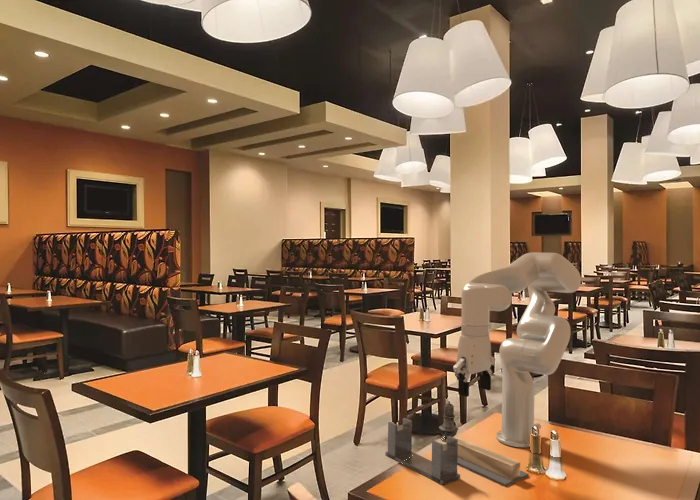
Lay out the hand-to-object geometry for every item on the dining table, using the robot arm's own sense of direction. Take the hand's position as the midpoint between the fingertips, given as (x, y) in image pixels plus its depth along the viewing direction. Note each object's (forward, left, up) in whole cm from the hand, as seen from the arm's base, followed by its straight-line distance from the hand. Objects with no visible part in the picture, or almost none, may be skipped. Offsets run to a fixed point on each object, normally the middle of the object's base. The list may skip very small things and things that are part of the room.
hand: (474, 392), depth 139 cm
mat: (0, +2, -20) cm, 20 cm away
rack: (+14, -7, -20) cm, 25 cm away
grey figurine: (-7, -16, -20) cm, 26 cm away
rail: (0, +2, -19) cm, 19 cm away
